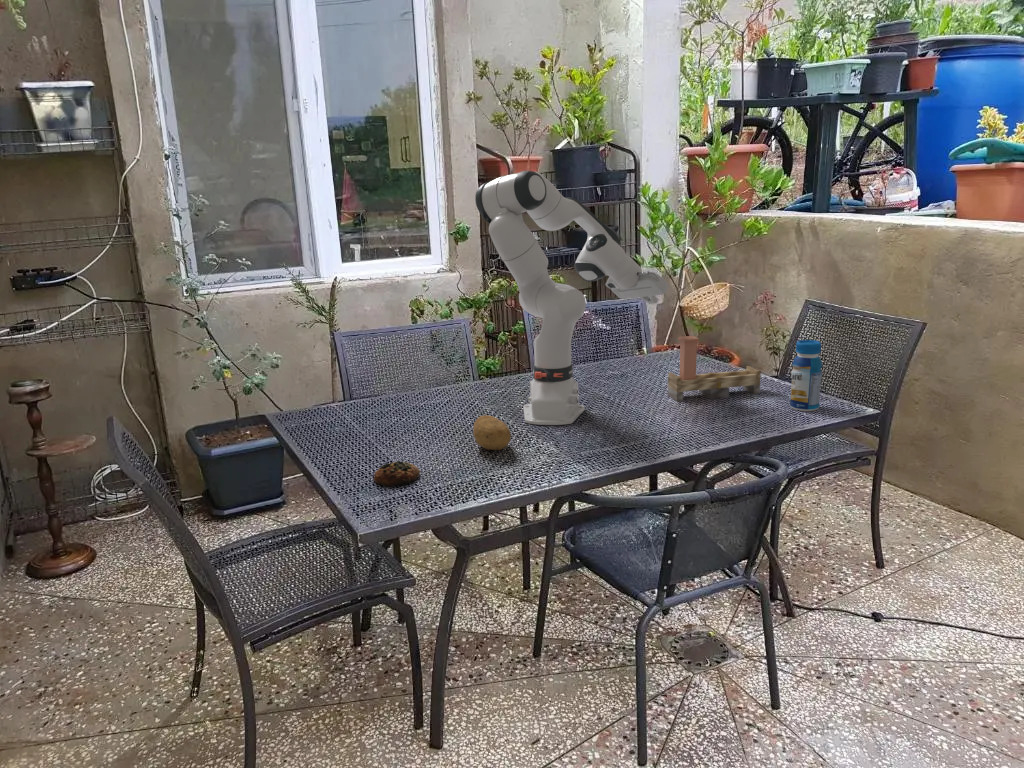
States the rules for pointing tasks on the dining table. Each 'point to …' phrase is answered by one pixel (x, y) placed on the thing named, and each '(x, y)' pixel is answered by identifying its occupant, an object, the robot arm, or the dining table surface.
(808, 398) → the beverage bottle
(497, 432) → the potato
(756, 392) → the beam
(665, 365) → the dining table surface
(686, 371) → the terracotta square pillar
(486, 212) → the robot arm
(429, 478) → the dining table surface
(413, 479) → the bread roll
